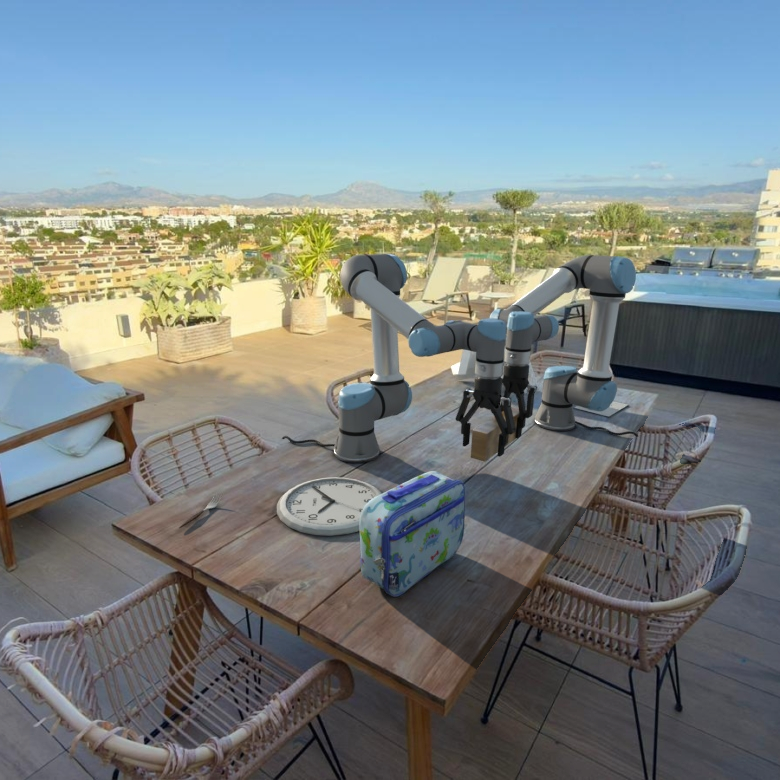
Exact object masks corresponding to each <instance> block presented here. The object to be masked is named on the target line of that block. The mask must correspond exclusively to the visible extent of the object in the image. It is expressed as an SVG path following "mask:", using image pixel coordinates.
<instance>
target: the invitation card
mask: <svg viewBox="0 0 780 780" xmlns="http://www.w3.org/2000/svg"><path fill="white" fill-rule="evenodd" d="M628 406H629V404H627V403H623V402H618V401H614V400H613V402H612V403H611V405H610V406H609V407H608V408H607V409H606V410H604V411H594V410H589V409H587V408H584V407H581V406H577V405H575V406H574V407H573V409H575V410H581V411H584V412H587V413H593V414H596V415H600V416H604V417H608V418H609V417H611V416H613V415H614V414H616V413H617V412H619V411H621V410H623V409H624V408H626V407H628Z"/></svg>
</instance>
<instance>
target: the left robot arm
mask: <svg viewBox="0 0 780 780" xmlns="http://www.w3.org/2000/svg"><path fill="white" fill-rule="evenodd" d="M339 278H340V279H339V280H340V283H341V286H342V288H343V289H344V291H345V292H346V293H347V294H348V295H349V296H350V297H351V298H353V299H354V300H356V301H361V302H362V303H364V304H365V305H366V306H368V307H369V309H370V323H371V324H370V325H371V326H370V327H371V340H372V341H371V342H372V357H373V360H372V361H373V375H371V377H370V378H369V383H368V382H355V383H349V384H347V385H345V386H343V387H342V388H341V389H340V391H339V393H338V401H337V405H338V433H337V437H336V441H335V443H321V442H320V441H319V440H317V439H304V440H294V439H292V438H290V437H289V436H288V435H284V436H282V437H281V440H285V439H287V440H288V441H289V442H290V443H293V444H304V443H305V444H306V443H316V444H317V445H319V446H320V447H324V448H325V447H333V456H334V457H335V458H336V459H337V460H339V461H342V462H345V463H351V464H361V463H363V464H364V463H368V462H371V461H374V460H376V459H377V458H379V456H380V445H379V443H378V440H377V439H378V438H377V436H376V433H375V422H376V421H379V420H382V419H386V418H389V417H394V416H398V415H400V414H402V413H404V412H406V411H407V410H408V409H409V408H410V407H411V404H412V401H413V391H412V388H411V387H410V383H409V382H408V381H406V380H405V375H403V374H402V373H401V372H400V354H399V353H400V352H399V335H398V332H399V333H400V334H401V335H402V336H403V337H404V338H406V340H408V347H409V349H410V351H411V353H412V354H413V355H414V356H416V357H418V358H424V357H427V358H428V357H433V356H436V355H440V354H445V353H450V352H451V353H452V352H456V351H461V350H463V349H464V350H469V351H473V352H476V367H475V374H476V376H475V378H474V379H473V380H474V381H473V382H474V383H473V390H472V389H471V388H467V389H465V390H463V391H462V392H463V393H462V400H461V403H460V405H459V409H458V411H457V413H456V416H455V421H456V422H459V423H460V434H461V435H462V447H467V446H468V445H470V439H471V425H472V424H471V422H470V420H471V418H472V417H473V416H474V415H475V413H476V412H477V411H478V409H479V408H480V409H485V410H489V411H490V412H491V414H493V417H495V419H496V421H497V423H498V426H499V428H500V430H501V432H502V433H501V434H499V443H498V453H497V457H502V456H503V455H504V454H505V448H506V447H505V445H507V444H508V437H509V434H510V435H511V434H513V433H514V432H516V428H515V423H514V418H513V413H512V409H511V407H512V403H513V400H512V398H511V397H510V398H504V397H503V396H502V389H501V388H502V387H503V383H502V378H503V371H504V366H503V363H504V362H503V361H504V349H505V347H506V338H507V334H506V323H505V322H504V321H502V320H498V319H489V318H482V319H479V320H478V323H477V324H475V323H471V322H465V321H462V320H454V319H453V320H448V321H447V322H445V323H444V324H442V325H434V323H432V322H431V321H429V320H428V319H427V318H426V317H425V316H423V315H422V314H421V313H419V312H418V311H416V309H414V308H413V307H412V306H410V305H409V304H408V303H406V301H404V300H403V299H401V298H400V297H401V290H402V289H403V288H404V287H405V285H406V283H407V282H408V281H407V280H408V271H407V267H406V265H405V263H404V262H403V260H401V258H400V257H399V256H397V255H395V254H391V253H390V254H389V253H376V254H372V253H371V254H356V255H353V256H351V257H349V258H348V259H346V260H345V262H344V263H343V265H342V266H341V269H340V277H339ZM472 398H473V399H474V402H473V403H472V405H471V407H470V408H469V410H468V411H467V408H468V406H469V403H470V402H471V399H472ZM500 401H501V402H502V405H503V410H504V415H505V419H506V421H505V419H504V417H503V414H502V412H501V408H500V406H499V402H500ZM501 402H500V403H501ZM466 411H467V412H466ZM507 446H508V445H507Z"/></svg>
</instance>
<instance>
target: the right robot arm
mask: <svg viewBox="0 0 780 780" xmlns="http://www.w3.org/2000/svg"><path fill="white" fill-rule="evenodd" d="M636 280H637V271H636V267H635V264H634V262H633V261H632V260H631V259H630V258H628V257H625V256H618V255H598V254H597V255H595V254H586V255H581V256H578V257H575V258H572V259H570V260H568V261H567V262H565V263H563V264H561V265H560V266H559V267H557V268H556V269H554V270H553V272H552V274H551V275H550V276H549V277H548V278H547V279H546V280H544V281H542V282H541V283H540V284H538V285H537V286H536V287H534V288H533V289H532V290H530V291H529V292H528V293H527V294H525V295H524V296H522V297H521V298H519V299H518V300H517V301H516V302H514V303H513V304H511V305H510V306H508V307H507V308H505V309H506V310H503V309H504V308H496V309H494V310H493V311H491V313H490V315H489V317H488V319H498V320H502V321H504V322H505V323H506V341H505V347H506V349H505V360H504V361H505V362H506V363H505V364H504V366H503V375H502V377H501V378H502V386H504V392H503V396H502V397H504V398H511V394H514V395H515V397H516V400H517V406H518V408H517V409H519V415H520V417H519V418H517V427H516V437H515V438H517V439H519V438H521V437H522V433H523V429H524V428H525V427H526V419H529V418H531V417H532V416H533V414H534V413H533V412H534V404H535V394H536V392H537V391H538V390H537V387H536V386H533V384H530V381H529V377H530V374H529V365H528V364H529V363H530V362H531V355H532V354H531V353H532V345H533V343H535V342H540V341H547V340H550V339H553V338H555V337H556V336H557V335H558V333H559V330H560V323H559V321H558V319H557V318H556V317H555V316H554V315H551V314H542V315H538V314H539V313H541V312H542V311H543V310H545V309H547V307H548V306H550V305H551V304H553V303H554V302H555V301H556V300H558V299H559V298H560V297H562V296H563V295H564V294H568V293H569V294H570V293H571V292H573V291H574V290H577V289H584V290H585V289H586V290H589V295H588V296H589V297H590V298H591V299H592V305H591V312H590V318H589V325H588V332H587V338H586V343H585V351H584V352H585V353H584V359H583V365H582V367H581V368H580V369H578V368H577V367H576V366H571V365H570V366H569V365H555V366H554V365H553V366H550V367H547V368H546V369H545V371H544V375H543V378H542V379H543V381H542V382H543V383H542V394H541V402H540V405H539V407H538V410H537V411H536V413H535V417H534V424H535V425H536V426H537V427H539V428H542V429H544V430H549V431H556V432H567V431H572V430H574V429H575V428H576V425H579V426H581V427H583V428H586V429H588V430H602V431H604V432H606V433H608V434H609V435H613V436H624V435H633V436H634V437H640V435H638V434H637V432H635V431H632V430H628V431H622V432H614V431H612V430H610V429H608V428H607V427H603V426H590V425H587V424H584V423H582V422H579V421H577V420H576V418H575V417H576V416H575V413H574V407H573V405H574V406H581V407H584V408H587V409H589V410H594V411H604V410H606V409H607V408H608V407H609V406H610V405H611V403H612V402H613V401H614V400H615V398H616V396H617V392H618V387H617V383H616V382H615V381H613V373H612V372H610V363H611V357H612V352H613V345H614V338H615V333H616V326H617V320H618V313H619V310H620V309H619V307H620V303H621V302H623V300H624V299H626V296H627V294H630V292H632V291H633V289H634V287H635V285H636ZM525 389H526V390H527V396H526V397H527V398H526V400H525V392H524V390H525ZM501 390H502V388H501ZM536 390H537V391H536ZM499 406H500V408H501V412H503V411H504V410H503V405H502V402H501V401H500V402H499Z"/></svg>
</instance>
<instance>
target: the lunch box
mask: <svg viewBox="0 0 780 780" xmlns="http://www.w3.org/2000/svg"><path fill="white" fill-rule="evenodd" d="M382 493H383V494H381V495H378V496H376V497H374V498H373V499H371V500H370V501H369V502H368V503H367V504H366V505H365V507H364V508H363V510H362V513H361V516H360V526H359V531H358V532H359V563H360V564H359V565H360V572H361V575H362V578H364V579H366V580H367V581H369V582H371V583H373V584H375V585H376V586H378V587H379V588H381V589H383V591H384V592H385V593H386V594H388V595H389V596H392V597H393V598H394V597H395V598H396V597H400V596H402V595H403V594H404V593H406V592H407V591H408V590H410V588H412V587H413V586H414V585H416V584H417V583H418V582H420V581H421V580H422V579H424V578H425V577H426V576H428V575H430V573H432V572H433V570H435V569H436V568H437V567H439V566H441V565H442V564H444V563H445V562H446V561H448V560H450V559H451V558H452V557H453V556H455V554H456V553H457V552H458V551H459V549H460V547H461V544H462V543H463V539H464V533H465V518H466V516H465V515H466V488H465V484H464V482H463V481H462V480H459V479H453V478H450V477H448V476H446V475H445V474H442V473H440V472H438V471H435V470H431V471H430V470H429V471H427V472H424V473H422V474H420V475H417V476H415V477H413V478H411V479H409V480H407V481H405V482H402V483H401V484H398V485H397V486H395V487H392V488H390V489H389V490H387V491H384V492H382Z"/></svg>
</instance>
